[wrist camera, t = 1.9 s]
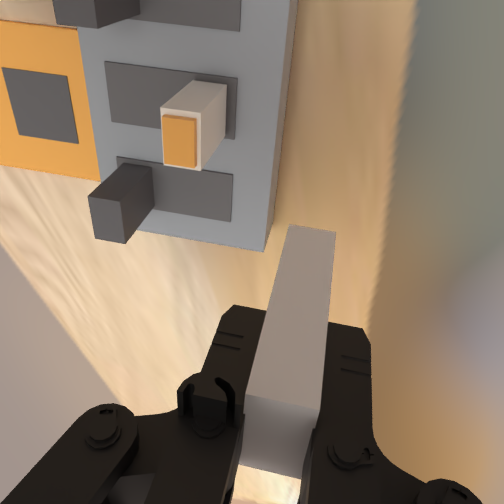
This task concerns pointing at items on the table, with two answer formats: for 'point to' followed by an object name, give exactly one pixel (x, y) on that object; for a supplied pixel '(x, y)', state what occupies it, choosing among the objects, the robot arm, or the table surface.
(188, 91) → the toggle
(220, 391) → the robot arm
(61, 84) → the pad
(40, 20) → the table surface
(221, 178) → the grey switch box
